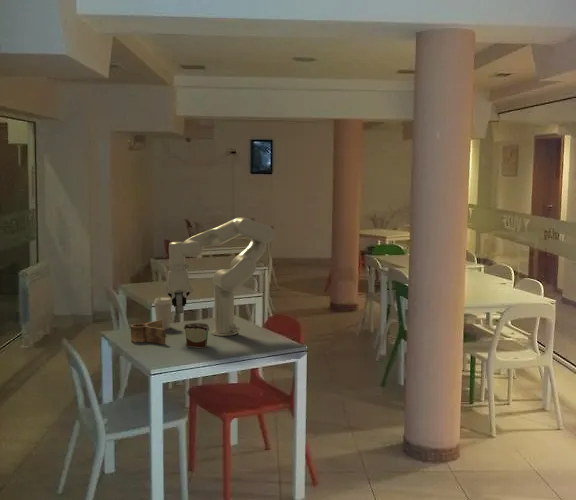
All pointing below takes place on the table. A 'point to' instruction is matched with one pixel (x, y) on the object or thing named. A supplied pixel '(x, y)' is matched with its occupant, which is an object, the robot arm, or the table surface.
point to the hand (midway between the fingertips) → (179, 305)
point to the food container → (196, 335)
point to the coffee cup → (163, 311)
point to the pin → (179, 302)
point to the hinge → (148, 332)
